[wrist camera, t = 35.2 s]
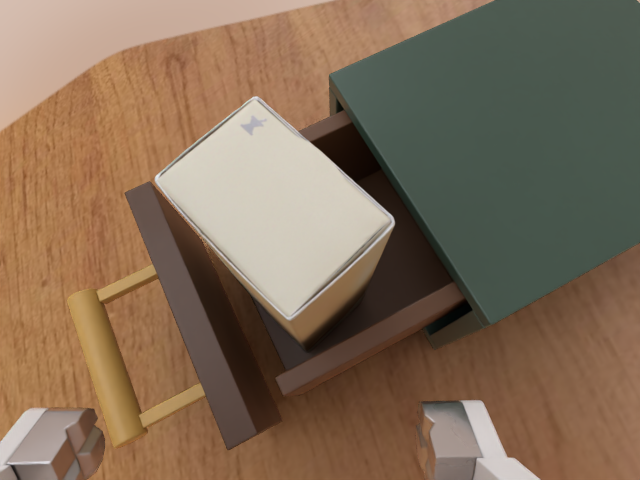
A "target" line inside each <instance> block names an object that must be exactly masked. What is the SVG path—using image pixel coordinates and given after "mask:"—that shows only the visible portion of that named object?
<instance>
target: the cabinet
mask: <svg viewBox="0 0 640 480" xmlns="http://www.w3.org/2000/svg"><path fill="white" fill-rule="evenodd" d="M329 86H330V87H329V103H330V116H332V115H335V114H337V113H339V112H341V111H343V110H345V111H346V113H347V114H348V116H349V118H350V119H351V121H352V122H353V124H354V125H355V127H356V128H357V130H358V132H359V133H360V135H361V136H362V138H363V139H364V141H365V142H366V144H367V146H368V147H369V149H370V150H371V152H372V153H373V155H374V156H375V158H376V160H377V161H378V163H379V164H380V166H381V167H382V169H383V170H384V172H385V174H386V175H387V177H388V178H389V180H390V181H391V183H392V184H393V186H394V188H395V189H396V191H397V192H398V194H399V195H400V197H401V198H402V200H403V202H404V203H405V205H406V206H407V208H408V209H409V211H410V212H411V214H412V216H413V217H414V219H415V220H416V222H417V223H418V225H419V226H420V228H421V230H422V231H423V233H424V234H425V236H426V237H427V239H428V241H429V242H430V244H431V245H432V247H433V248H434V250H435V251H436V253H437V255H438V256H439V258H440V259H441V261H442V262H443V264H444V265H445V267H446V269H447V270H448V272H449V273H450V275H451V276H452V278H453V279H454V281H455V283H456V284H457V286H458V287H459V289H460V290H461V292H462V293H463V295H464V297H465V298H466V300H467V301H468V303H469V304H467V305H465V306H463V307H461V308H459V309H458V310H456V311H454V312H452V313H450V314H448V315H446V316H445V317H443V318H441V319H439V320H437V321H435V322H434V323H432V324H430V325H428V326H426V327H424V328H423V329H422V330H423V332H424V334H425V335H426V337H427V339H428V340H429V342H430V344H431V345H432V347H433V349H434V350H436V349H438V348H440V347H443V346H445V345H447V344H450V343H452V342H454V341H457V340H459V339H461V338H464V337H466V336H468V335H471V334H473V333H475V332H478V331H480V330H482V329H484V328H486V327H489V326H491V325H493V324H495V323H497V322H499V321H501V320H502V319H504V318H506V317H508V316H509V315H511V314H513V313H515V312H517V311H518V310H520V309H522V308H524V307H526V306H527V305H529V304H531V303H533V302H535V301H536V300H538V299H540V298H542V297H544V296H545V295H547V294H549V293H551V292H553V291H554V290H556V289H558V288H560V287H562V286H563V285H565V284H567V283H569V282H571V281H572V280H574V279H576V278H578V277H580V276H581V275H583V274H585V273H587V272H589V271H590V270H592V269H594V268H596V267H597V266H599V265H601V264H603V263H605V262H606V261H608V260H610V259H612V258H614V257H615V256H617V255H619V254H621V253H623V252H624V251H626V250H628V249H630V248H632V247H633V246H635V245H637V244H639V243H640V3H639V2H638V1H637V0H494V1H492V2H490V3H488V4H486V5H483V6H481V7H479V8H477V9H474V10H472V11H470V12H468V13H465V14H463V15H461V16H459V17H456V18H454V19H452V20H450V21H447V22H445V23H443V24H441V25H439V26H436V27H434V28H432V29H430V30H427V31H425V32H423V33H421V34H418V35H416V36H414V37H412V38H409V39H407V40H405V41H403V42H400V43H398V44H396V45H394V46H392V47H389V48H387V49H385V50H383V51H380V52H378V53H376V54H374V55H371V56H369V57H367V58H365V59H362V60H360V61H358V62H356V63H354V64H351V65H349V66H347V67H345V68H342V69H340V70H338V71H336V72H333V73H331V74H330V75H329Z"/></svg>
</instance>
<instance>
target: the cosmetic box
mask: <svg viewBox="0 0 640 480" xmlns="http://www.w3.org/2000/svg"><path fill="white" fill-rule="evenodd" d="M155 182H156V184H157V186H158V187H159V188H160V189H161V190H162V192H163V193H164V194H165V195H166V197H167V198H168V199H169V200H170V201H171V203H172V204H173V205H174V206H175V207H176V208H177V210H178V211H179V212H180V213H181V214H182V215H183V216H184V218H185V219H186V220H187V221H188V222H189V223H190V224H191V225H192V227H193V228H194V229H195V230H196V231H197V232H198V234H199V235H200V236H201V237H202V238H203V239H204V241H205V242H206V243H207V244H208V245H209V247H210V248H211V249H212V250H213V251H214V253H215V254H216V255H217V256H218V257H219V258H220V260H221V261H222V262H223V263H224V264H225V266H226V267H227V268H228V269H229V270H230V272H231V273H232V274H233V275H234V276H235V278H236V279H237V280H238V281H239V282H240V284H241V285H242V286H243V287H244V288H245V289H246V290H247V292H248V293H249V294H250V295H251V296H252V297H253V298H254V299H255V300H256V302H257V303H258V304H259V305H260V306H261V307H262V308H263V309H264V310H265V311H266V312H267V314H268V315H269V316H270V317H271V318H272V319H273V320H274V321H275V322H276V323H277V324H278V325H279V326H280V327H281V328H282V329H283V330H284V331H285V332H286V333H287V334H288V335H289V336H290V337H291V338H292V339H293V340H294V341H295V342H296V343H297V344H298V345H299V346H300V347H301V348H302V349H303V350H304V351H305V352H306V353H309V352H310V351H311V350H312V349H314V348H315V347H316V346H317V345H318V344H319V343H320V342H321V341H322V340H323V339H324V338H325V337H326V336H327V335H328V334H329V333H330V332H332V331H333V330H334V329H335V328H336V327H337V326H338V325H339V324H340V323H341V322H342V321H343V320H344V319H345V318H346V317H347V316H348V315H349V314H350V313H351V312H352V311H353V310H354V309H355V308H356V307H357V306H358V305H359V304H360V303H361V301H362V298H363V296H364V294H365V292H366V289H367V287H368V285H369V282H370V280H371V278H372V276H373V273H374V271H375V269H376V266H377V264H378V262H379V259H380V257H381V255H382V253H383V250H384V248H385V246H386V243H387V241H388V239H389V237H390V234H391V232H392V230H393V228H394V226H395V221H394V217H393V216H392V215H391V214H390V213H388V212H387V211H386V210H385V209H384V208H383V207H382V206H381V205H380V204H379V203H377V202H376V201H375V200H374V199H373V198H372V197H371V196H370V195H369V194H368V193H366V192H365V191H364V190H363V189H362V188H361V187H360V186H359V185H357V184H356V183H355V182H354V181H353V180H352V179H351V178H350V177H349V176H347V175H346V174H345V173H344V172H343V171H342V170H341V169H340V168H339V167H338V166H337V165H336V164H334V163H333V162H332V161H331V160H330V159H329V158H328V157H327V156H326V155H325V154H324V153H323V152H321V151H320V150H319V149H318V148H316V147H315V146H314V145H313V144H311V143H310V142H309V141H308V140H307V139H305V138H304V137H303V136H302V135H301V134H300V133H299V132H298V131H297V130H296V129H294V128H293V127H292V126H291V125H290V124H289V123H288V122H286V121H285V120H284V119H283V118H282V117H281V116H280V115H279V114H277V113H276V112H275V111H274V110H273V109H272V108H270V107H269V106H268V105H267V104H266V103H265V102H264V101H263V100H262V99H261V98H259V97H257V96H254V97H252V98H251V99H250V100H248V101H247V102H246V103H245V104H243V105H242V106H241V107H240V108H239V109H237V110H236V111H234V112H233V113H232V114H230V115H229V116H228V117H227V118H226V119H224V120H223V121H222V122H220V123H219V124H218V125H216V126H215V127H214V128H213V129H212V130H210V131H209V132H208V133H207V134H205V135H204V136H203V137H201V138H200V139H199V140H198V141H196V142H195V143H194V144H193V145H191V146H190V147H189V148H188V149H186V150H185V151H184V152H183V153H182V154H181V155H179V156H178V157H177V158H176V159H175V160H174V161H173V162H172V163H171V164H170V165H168V166H167V167H166V168H165V169H164V170H162V171H161V172H160V173H159V174H158V175H157V176H156V177H155Z"/></svg>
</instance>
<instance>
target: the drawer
mask: <svg viewBox="0 0 640 480" xmlns="http://www.w3.org/2000/svg"><path fill="white" fill-rule="evenodd" d="M298 132H299V133H300V134H301V135H302V136H303V137H304V138H305V139H307V140H308V141H309V142H310V143H311V144H313V145H314V146H315V147H316V148H318V149H319V150H320V151H321V152H323V153H324V154H325V155H326V156H327V157H328V158H329V159H330V160H331V161H332V162H333V163H334V164H336V165H337V166H338V167H339V168H340V169H341V170H342V171H343V172H344V173H345V174H346V175H347V176H349V177H350V178H351V179H352V180H353V181H354V182H355V183H356V184H357V185H359V186H360V187H361V188H362V189H363V190H364V191H365V192H366V193H368V194H369V195H370V196H371V197H372V198H373V199H374V200H375V201H376V202H377V203H379V204H380V205H381V206H382V207H383V208H384V209H385V210H386V211H387V212H388V213H390V214H391V215H392V216H393V217H394V221H395V226H394V228H393V230H392V232H391V234H390V237H389V239H388V241H387V243H386V246H385V248H384V250H383V253H382V255H381V257H380V259H379V262H378V264H377V266H376V269H375V271H374V273H373V276H372V278H371V280H370V282H369V285H368V287H367V289H366V292H365V294H364V296H363V298H362V301H361V303H360V304H359V305H358V306H357V307H356V308H355V309H354V310H353V311H352V312H351V313H350V314H349V315H348V316H347V317H346V318H345V319H344V320H343V321H342V322H341V323H340V324H339V325H338V326H337V327H336V328H335V329H334V330H333V331H332V332H330V333H329V334H328V335H327V336H326V337H325V338H324V339H323V340H322V341H321V342H320V343H319V344H318V345H317V346H316V347H315V348H314V349H312V350H311V351H310V352H309V353H306V352H305V351H304V350H303V349H302V348H301V347H300V346H299V345H298V344H297V343H296V342H295V341H294V340H293V339H292V338H291V337H290V336H289V335H288V334H287V333H286V332H285V331H284V330H283V329H282V328H281V327H280V326H279V325H278V324H277V323H276V322H275V321H274V320H273V319H272V318H271V317H270V316H269V315H268V314H267V312H266V311H265V310H264V309H263V308H262V307H261V306H260V305H259V304H258V303H257V302H256V300H255V299H254V298H253V297H252V296H251V295H250V296H251V298H252V300H253V302H254V304H255V306H256V308H257V311H258V313H259V315H260V317H261V319H262V321H263V323H264V325H265V328H266V330H267V332H268V334H269V336H270V338H271V340H272V343H273V345H274V347H275V349H276V351H277V353H278V355H279V357H280V360H281V362H282V364H283V366H284V368H285V370H286V371H285V372H283V373H281V374H280V375H278V376H276V377H275V380H276V382H277V385H278V387H279V389H280V391H281V393H282V395H283V396H297V395H302V394H303V393H305V392H307V391H309V390H311V389H313V388H314V387H316V386H318V385H320V384H322V383H324V382H325V381H327V380H329V379H331V378H333V377H335V376H336V375H338V374H340V373H342V372H344V371H346V370H347V369H349V368H351V367H353V366H355V365H357V364H358V363H360V362H362V361H364V360H366V359H368V358H369V357H371V356H373V355H375V354H377V353H379V352H380V351H382V350H384V349H386V348H388V347H390V346H391V345H393V344H395V343H397V342H399V341H401V340H402V339H404V338H406V337H408V336H410V335H412V334H413V333H415V332H417V331H419V330H421V329H423V328H424V327H426V326H428V325H430V324H432V323H434V322H435V321H437V320H439V319H441V318H443V317H445V316H446V315H448V314H450V313H452V312H454V311H456V310H458V309H459V308H461V307H463V306H465V305H467V304H469V303H468V301H467V300H466V298H465V297H464V295H463V293H462V292H461V290H460V289H459V287H458V286H457V284H456V283H455V281H454V279H453V278H452V276H451V275H450V273H449V272H448V270H447V269H446V267H445V265H444V264H443V262H442V261H441V259H440V258H439V256H438V255H437V253H436V251H435V250H434V248H433V247H432V245H431V244H430V242H429V241H428V239H427V237H426V236H425V234H424V233H423V231H422V230H421V228H420V226H419V225H418V223H417V222H416V220H415V219H414V217H413V216H412V214H411V212H410V211H409V209H408V208H407V206H406V205H405V203H404V202H403V200H402V198H401V197H400V195H399V194H398V192H397V191H396V189H395V188H394V186H393V184H392V183H391V181H390V180H389V178H388V177H387V175H386V174H385V172H384V170H383V169H382V167H381V166H380V164H379V163H378V161H377V160H376V158H375V156H374V155H373V153H372V152H371V150H370V149H369V147H368V146H367V144H366V142H365V141H364V139H363V138H362V136H361V135H360V133H359V132H358V130H357V128H356V127H355V125H354V124H353V122H352V121H351V119H350V118H349V116H348V114H347V113H346V111H345V110H343V111H341V112H339V113H337V114H335V115H332V116H330V117H328V118H326V119H324V120H322V121H319V122H317V123H315V124H313V125H311V126H309V127H306V128H304V129H302V130H300V131H298ZM125 195H126V198H127V200H128V203H129V205H130V208H131V210H132V213H133V215H134V218H135V220H136V223H137V225H138V228H139V230H140V233H141V235H142V238H143V240H144V243H145V245H146V248H147V250H148V253H149V255H150V258H151V260H152V263H153V264H152V265H150V266H147V267H145V268H143V269H141V270H139V271H137V272H135V273H133V274H131V275H129V276H127V277H125V278H123V279H120V280H118V281H116V282H114V283H112V284H110V285H108V286H106V287H104V288H102V289H100V290H97V289H85V290H81V291H78V292H76V293H74V294H72V295H71V296H69V297H68V299H67V304H68V307H69V310H70V313H71V316H72V319H73V322H74V325H75V329H76V332H77V335H78V338H79V341H80V344H81V347H82V351H83V354H84V357H85V360H86V363H87V366H88V369H89V373H90V376H91V379H92V382H93V385H94V388H95V391H96V395H97V398H98V401H99V404H100V407H101V410H102V413H103V416H104V420H105V423H106V426H107V429H108V432H109V435H110V438H111V442H112V445H113V447H114V448H120V447H123V446H125V445H127V444H130V443H132V442H134V441H136V440H138V439H140V438H141V437H143V436H145V435H146V434H147V433H148V429H147V427H150V426H152V425H154V424H156V423H158V422H159V421H161V420H163V419H165V418H167V417H169V416H171V415H173V414H175V413H176V412H178V411H180V410H182V409H184V408H186V407H188V406H190V405H192V404H193V403H195V402H197V401H199V400H201V399H203V398H205V397H206V398H207V400H208V403H209V405H210V408H211V410H212V413H213V415H214V418H215V420H216V423H217V425H218V428H219V430H220V433H221V435H222V438H223V440H224V443H225V445H226V448H227V450H230V449H232V448H234V447H236V446H237V445H239V444H241V443H243V442H245V441H247V440H249V439H250V438H252V437H254V436H256V435H258V434H260V433H262V432H263V431H265V430H267V429H269V428H271V427H272V426H274V425H276V424H278V423H280V422H282V418H281V415H280V413H279V411H278V409H277V407H276V404H275V402H274V400H273V398H272V395H271V393H270V391H269V389H268V387H267V384H266V382H265V380H264V378H263V375H262V373H261V371H260V369H259V367H258V364H257V362H256V360H255V358H254V355H253V353H252V351H251V349H250V347H249V344H248V342H247V340H246V338H245V335H244V333H243V331H242V329H241V327H240V324H239V322H238V320H237V318H236V315H235V313H234V311H233V309H232V307H231V304H230V302H229V300H228V298H227V295H226V293H225V291H224V289H223V287H222V284H221V282H220V280H219V278H218V275H217V273H216V271H215V269H214V267H213V264H212V262H211V260H210V258H209V255H208V253H207V251H206V249H205V247H204V244H203V242H202V240H201V239H200V238H199V237H198V235H197V234H196V233H195V232H194V231H193V230H192V229H191V227H190V226H189V225H188V224H187V223H186V222H185V221H184V219H183V218H182V217H181V216H180V215H179V214H178V213H177V211H176V210H175V209H174V208H173V207H172V206H171V205H170V203H169V202H168V201H167V200H166V199H165V198H164V197H163V195H162V194H161V193H160V192H159V191H158V190H157V189H156V188H155V186H154V185H153V184H152V183H151V182H150V181H149V182H147V183H145V184H142V185H140V186H138V187H136V188H134V189H131V190H129V191H127V192H125ZM158 278H159V280H160V283H161V285H162V288H163V290H164V293H165V295H166V298H167V300H168V303H169V305H170V308H171V310H172V313H173V315H174V318H175V320H176V323H177V325H178V328H179V330H180V333H181V335H182V338H183V340H184V343H185V345H186V348H187V350H188V353H189V355H190V358H191V360H192V363H193V365H194V368H195V370H196V373H197V375H198V378H199V380H200V383H198V384H196V385H194V386H192V387H191V388H189V389H187V390H185V391H183V392H181V393H179V394H177V395H175V396H173V397H171V398H170V399H168V400H166V401H164V402H162V403H160V404H158V405H156V406H154V407H152V408H151V409H149V410H147V411H145V412H143V413H142V412H141V409H140V406H139V403H138V401H137V398H136V395H135V392H134V389H133V386H132V383H131V381H130V378H129V375H128V372H127V369H126V366H125V363H124V360H123V358H122V355H121V352H120V349H119V346H118V343H117V340H116V337H115V335H114V332H113V329H112V326H111V323H110V320H109V317H108V314H107V312H106V309H105V306H104V304H107V303H109V302H111V301H113V300H115V299H117V298H119V297H121V296H123V295H125V294H127V293H129V292H132V291H134V290H136V289H138V288H140V287H142V286H144V285H146V284H148V283H150V282H152V281H154V280H156V279H158Z"/></svg>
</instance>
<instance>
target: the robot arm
mask: <svg viewBox="0 0 640 480" xmlns="http://www.w3.org/2000/svg"><path fill="white" fill-rule="evenodd" d="M417 413H418V418H419V422H420V423H419V424H418V425H417V426H416V449H417V456H418V461H419V466H420V468H421V469H422V470H423V471H424V472H425V473H424V480H541V479H539V478H538V477H537V476H536V475H534V474H533V473H532V472H531V471H530V470H528V469H527V468H526V467H525V466H524V465H522V464H521V463H520V462H519V461H518V460H516V459H515V458H508V457H507V455H506V453H505V450H504V448H503V446H502V443H501V441H500V439H499V437H498V434H497V432H496V430H495V427H494V425H493V423H492V421H491V418H490V416H489V414H488V411H487V409H486V407H485V404H484V403H483V402H482V401H481V400H460V401H458V400H457V401H423V402H419V405H418V412H417ZM97 419H98V418H97V415H96V413H95V410H94V409H91V408H30V409H29V410H27V411H25V412H24V413H23V414H22V415H21V417H20V418H19V419H18V420H17V422H16V423H15V424H14V425H13V427H12V428H11V429H10V431H9V432H8V433H7V434H6V436H5V437H4V438H3V439H2V441H1V442H0V480H87V479H88V478H89V477H91V476H92V475H93V474H94V473H96V472H97V470H98V468H99V466H100V464H101V462H102V460H103V455H104V451H105V438H104V435H103V432H102V431H101V430H100V429H99V428H97V427H96V426H95V425H94V424H95V423H96V421H97Z"/></svg>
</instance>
